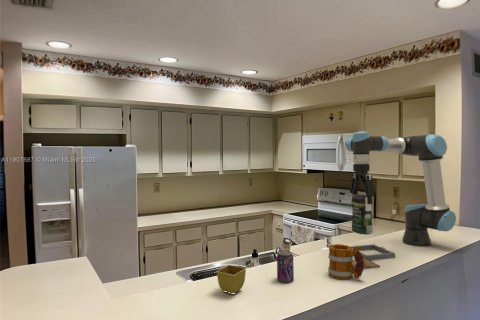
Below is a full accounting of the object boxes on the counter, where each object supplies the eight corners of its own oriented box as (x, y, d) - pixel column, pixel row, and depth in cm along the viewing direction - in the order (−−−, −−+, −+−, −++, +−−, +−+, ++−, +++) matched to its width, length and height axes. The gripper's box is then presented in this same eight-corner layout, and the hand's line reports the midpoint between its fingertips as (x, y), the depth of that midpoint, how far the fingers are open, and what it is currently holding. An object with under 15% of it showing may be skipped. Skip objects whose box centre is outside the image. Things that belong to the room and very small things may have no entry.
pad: (365, 259, 164) (365, 258, 164) (379, 267, 153) (379, 265, 153) (346, 262, 161) (346, 260, 161) (359, 269, 150) (359, 267, 150)
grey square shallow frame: (373, 248, 183) (373, 243, 183) (395, 257, 166) (394, 251, 166) (347, 251, 179) (347, 245, 179) (366, 260, 162) (366, 254, 162)
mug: (335, 269, 152) (334, 237, 151) (369, 278, 140) (369, 244, 140) (322, 275, 144) (322, 242, 144) (358, 285, 132) (357, 249, 132)
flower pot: (235, 298, 122) (234, 275, 122) (216, 293, 127) (216, 271, 127) (246, 290, 130) (246, 268, 130) (228, 285, 134) (228, 264, 134)
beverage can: (283, 284, 134) (283, 256, 134) (274, 279, 141) (273, 251, 141) (297, 281, 138) (296, 253, 138) (287, 276, 144) (286, 249, 144)
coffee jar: (348, 231, 160) (348, 194, 160) (362, 229, 163) (361, 193, 163) (361, 235, 151) (361, 196, 151) (375, 234, 154) (375, 195, 153)
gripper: (341, 163, 166) (342, 206, 167) (368, 164, 145) (369, 213, 145) (354, 162, 168) (355, 205, 168) (383, 163, 147) (383, 212, 147)
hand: (361, 209), depth 157 cm, fingers closed on coffee jar, 9 cm apart
